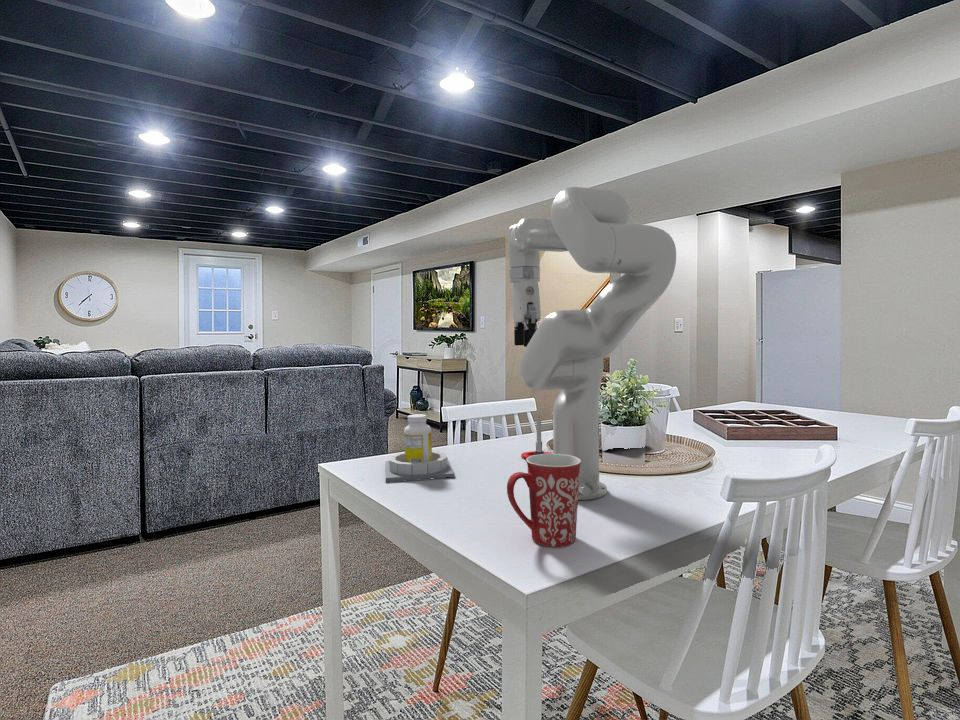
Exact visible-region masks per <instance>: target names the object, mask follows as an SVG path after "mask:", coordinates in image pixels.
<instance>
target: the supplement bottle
mask: <svg viewBox="0 0 960 720" xmlns="http://www.w3.org/2000/svg"><path fill="white" fill-rule="evenodd" d="M427 417H428V416H427V414H424V413H416V414H409V415H407V423H408V425H406V426H405V427H404V430H403V438H404V452H405V462H408V463H420V462H429V461H432V451H433V446H432V445H433V444H432V428H431V426H430V425H429V424H427V420H428V418H427Z"/></svg>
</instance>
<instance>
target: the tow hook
mask: <svg viewBox="0 0 960 720" xmlns="http://www.w3.org/2000/svg"><path fill="white" fill-rule="evenodd" d="M536 416H537V417H536V418H537V419H536V425H535V428H536V441H535V450H534V451H532V450H531V451H525V452H522V453H521V455H520V457H521V458H522V459H524V460H526V459H527V458H528V457H530V456H533V455H539V454H553V452H549V451H543V441H542V420H541V412H540V411H537V412H536Z"/></svg>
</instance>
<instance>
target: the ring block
mask: <svg viewBox="0 0 960 720" xmlns="http://www.w3.org/2000/svg"><path fill="white" fill-rule="evenodd" d="M388 459H389V460H386V461H385V473H384V474H385V476H384V477H385V482H386V481H397V482H405V481H404V480H412V481H418V480H417V479H427V480H432V479H431V478H442V479H447V478H446V477H455V472H454V469H453V468H452V465H451V463H450V461H449V459H448V456H447V454H446V453H444V452H440V451H438V450H437V451H436V450H432V461H429V462H420V463H408V462H405V451H403V452H398V453H397V452H396V453H395V454H392V455H391V456H389V458H388ZM455 478H456V477H455Z"/></svg>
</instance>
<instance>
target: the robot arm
mask: <svg viewBox="0 0 960 720" xmlns="http://www.w3.org/2000/svg"><path fill="white" fill-rule="evenodd" d="M630 213H631V211H630V204H629V203H628V200H627V199H626V198H625V196H624V195H622V194H621V193H619V192H617V191H615V190H611V189H607V188H605V189H604V188H595V187H594V188H592V187H581V186H571V187H566V188H564V189H562V190H561V191H560V192H558V194H557V195H556V196H555V198H554V199H553V202H552V204H551V208H550V217H533V216H531V217H523V218H521V219H520V220H519V221H518V222H517V223H516V224H515V223H514V224H512V225H511V226H509V228H508V231H507V232H508V235H507V237H508V239H507V240H508V282H509V283H511V284H512V320H513V322H514V326H513V328H514V331H513V335H514V338H513V339H514V340H513V341H514V346H523V347H525V348H524V350H523V352H522V355H521V358H520V362H519V376H520V379H521V382H522V383H523V385H525V387H527V388H529V389H530V390H533V391H540V392H541V391H543V392H544V391H555V390H557V391H558V390H560V392H559V393H558V395H557V397H556V400H555V402H554V405H553V410H552V442H553V444H552V445H553V449H552V450H553V452H552V454H565V455H571V456H574V457H577V458H579V459H580V460H581V464H580V470H579V488H578V501H587V500H593V499H594V500H595V499H599V498H602V497H603V496H605V495H606V494H607V492H608V487H607V485H606V484H605V483H604V482H602V481H600V451H599V416H600V412H599V411H600V391H601V385H602V381H603V380H602V379H603V374H604V363H605V362H604V358H605V357H608V356H610V355H611V354H612V353H613V352H614V351H615V350H616V349H617V347H618V346H619V345H620V343H622V341H623V340H624V339H625V338H626V336H627V335H628V334H629V333H630V332H631V330H632V329H633V328H634V327H635V325H636V324H637V323H638V321H639V320H640V319H641V317H643V315H644V314H645V313H647V311H648V310H649V309H651V308H652V306H653V305H654V304H655V303H656V302H657V301H658V300H659V299H660V298H661V297H662V295H663V294H664V293H665V291H666V290H667V289H668V286H670V283H671V281H672V278H673V276H674V273H675V270H676V269H675V268H676V266H677V265H676V264H677V247H676V244H675V241H674V239H673V237H672V236H671V235H670V234H669V233H668V232H667V231H665V230H664V229H662V228H659V227H656V226H653V225H648V224H636V223H628V220H629V219H630V215H631V214H630ZM540 252H555V253H556V252H558V253H562V252H569V255H570V256H571V257H572V259H573V261H574V262H575V263H576V264H577V265H578V266H579V267H580V268H581V269H582V270H584V271H586V272H588V273H594V274H623V275H622V276H620V277H619V278H617V279H615V280H614V281H612V282H611V283H609V284H608V285H607V286H605V288H603V289H602V291H600V293H599V294H598V295H597V298H595V300H594V301H593V303H592V304H591V305H590V306H589V307H586V308H583V309H560V310H556V311H552V312H551V313H549V314H547V315H546V316H544V318H543V319H542V318H541V317H542V314H541V300H540V299H541V297H540V287H539V282H541V272H540V271H541V268H540V267H541V266H540V265H541V264H540V263H541V262H540V261H541V258H540ZM541 319H542V321H541ZM540 321H541V322H540ZM538 322H540V323H539V325H538Z"/></svg>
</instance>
